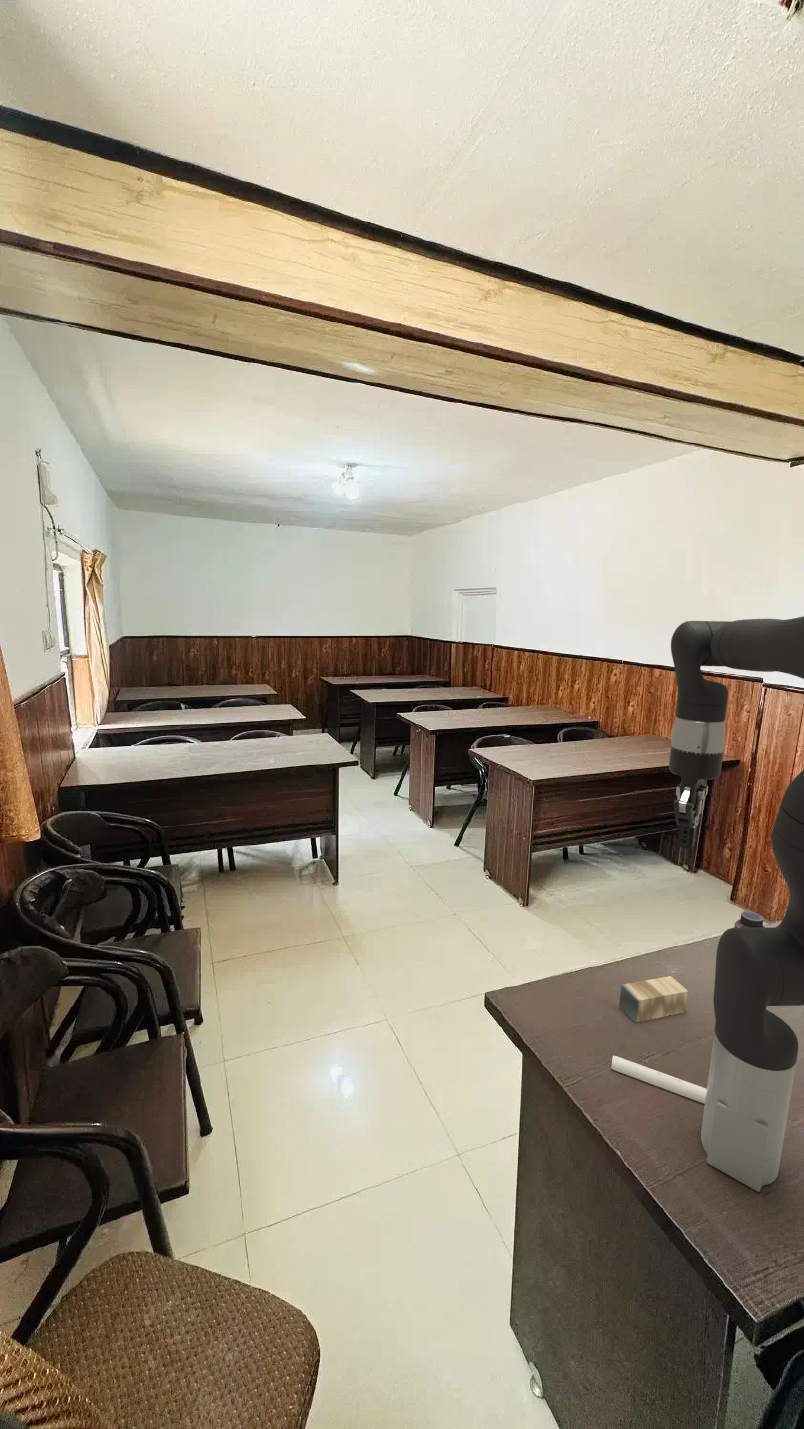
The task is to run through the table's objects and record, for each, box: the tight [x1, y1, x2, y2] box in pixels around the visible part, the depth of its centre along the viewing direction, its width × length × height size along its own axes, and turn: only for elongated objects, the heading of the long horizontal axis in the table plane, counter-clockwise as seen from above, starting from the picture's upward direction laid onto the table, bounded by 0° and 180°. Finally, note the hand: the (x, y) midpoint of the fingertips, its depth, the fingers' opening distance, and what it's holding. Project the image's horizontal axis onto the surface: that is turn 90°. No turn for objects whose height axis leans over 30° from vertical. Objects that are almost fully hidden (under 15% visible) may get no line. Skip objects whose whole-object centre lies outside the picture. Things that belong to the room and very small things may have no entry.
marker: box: [610, 1055, 707, 1105], centre depth 87 cm, size 18×2×2 cm, turn 62°
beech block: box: [618, 975, 689, 1023], centre depth 104 cm, size 4×4×11 cm
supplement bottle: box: [733, 910, 765, 928], centre depth 117 cm, size 6×6×11 cm
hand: (685, 846), depth 93 cm, fingers closed
